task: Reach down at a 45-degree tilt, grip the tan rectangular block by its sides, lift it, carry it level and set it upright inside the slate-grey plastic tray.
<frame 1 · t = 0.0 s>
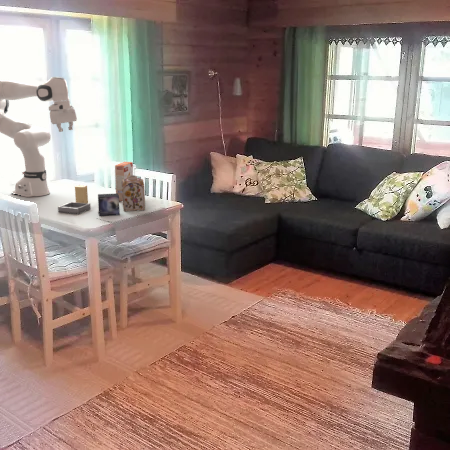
hand: (65, 130, 308), 39 cm above the table, tool pointing down, fingers open, 8 cm apart
tray: (74, 210, 290), on the table
tan rectangular block: (82, 203, 305), on the table
small box: (109, 214, 283), on the table
decorative jar: (133, 208, 296), on the table
cracker box: (125, 199, 317), on the table
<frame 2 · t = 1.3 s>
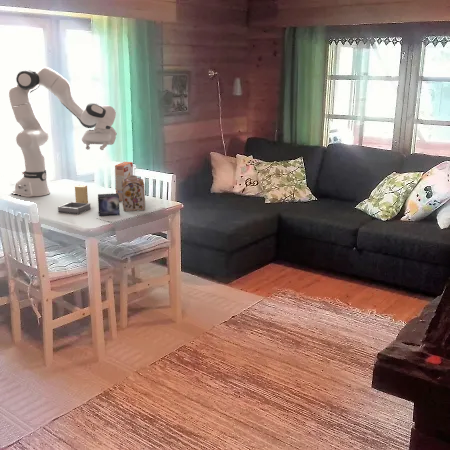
hand: (94, 149, 311), 29 cm above the table, tool tilted 45°, fingers open, 8 cm apart
nothing on the table moved.
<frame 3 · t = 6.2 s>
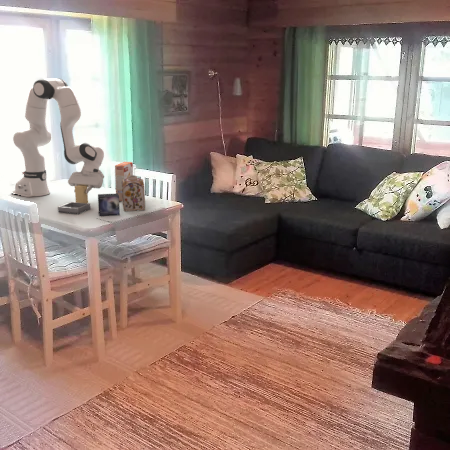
hand: (80, 192, 302), 6 cm above the table, tool tilted 45°, fingers closed on tan rectangular block, 5 cm apart
tan rectangular block: (82, 203, 305), on the table, touching gripper
everything else where it was.
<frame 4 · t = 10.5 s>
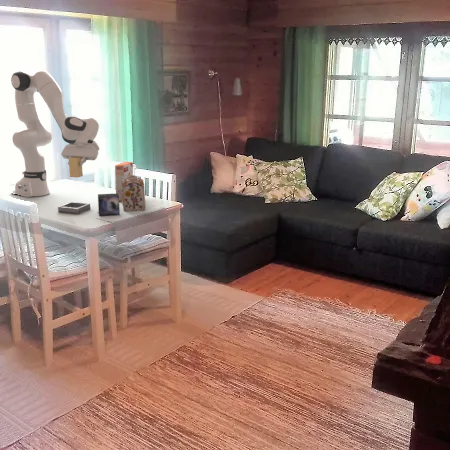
hand: (74, 164, 288), 24 cm above the table, tool tilted 45°, fingers closed on tan rectangular block, 5 cm apart
tan rectangular block: (76, 176, 291), point 17 cm above the table, touching gripper
everything else where it was.
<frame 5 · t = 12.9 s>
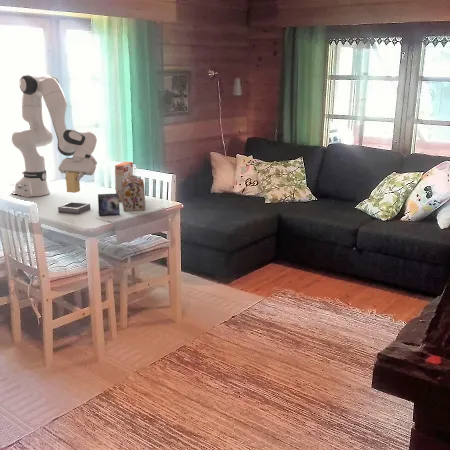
hand: (71, 179, 284), 17 cm above the table, tool tilted 45°, fingers closed on tan rectangular block, 5 cm apart
tan rectangular block: (73, 191, 287), point 10 cm above the table, touching gripper
everything else where it was.
when the fingers open (9 cm above the table, at t = 15.2 s): tan rectangular block drops 1 cm, resting on tray.
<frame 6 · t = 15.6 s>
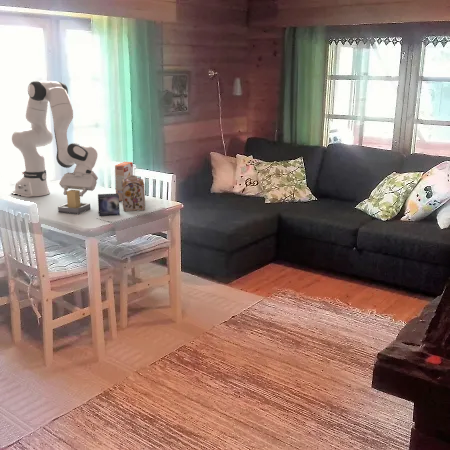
hand: (72, 195, 287), 9 cm above the table, tool tilted 45°, fingers open, 8 cm apart
tan rectangular block: (74, 209, 289), point 1 cm above the table, touching tray
everything else where it was.
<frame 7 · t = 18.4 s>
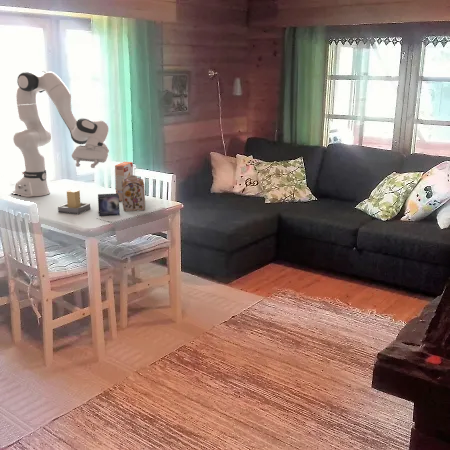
hand: (84, 166, 295), 22 cm above the table, tool tilted 45°, fingers open, 8 cm apart
nothing on the table moved.
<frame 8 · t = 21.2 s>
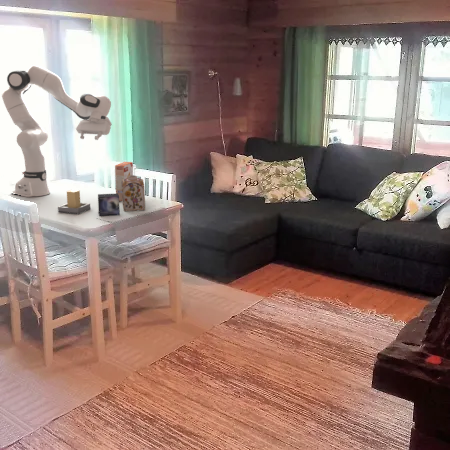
hand: (88, 138, 310), 34 cm above the table, tool tilted 45°, fingers open, 8 cm apart
nothing on the table moved.
at the end: tan rectangular block 0.1 cm off-centre on the tray, point 0.8 cm above the tray's base; tan rectangular block tilted 0°; the gripper is holding nothing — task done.
